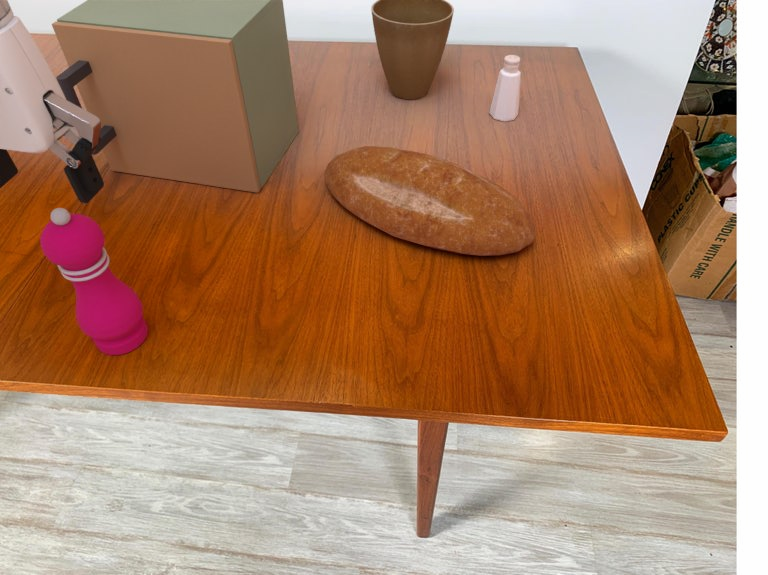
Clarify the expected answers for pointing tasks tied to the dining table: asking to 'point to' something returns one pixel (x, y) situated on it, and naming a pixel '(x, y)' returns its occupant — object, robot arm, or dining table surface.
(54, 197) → the dining table surface
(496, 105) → the salt shaker
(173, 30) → the cupboard
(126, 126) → the cupboard door
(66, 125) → the robot arm
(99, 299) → the pepper mill
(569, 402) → the dining table surface
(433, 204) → the bread
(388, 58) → the plant pot
